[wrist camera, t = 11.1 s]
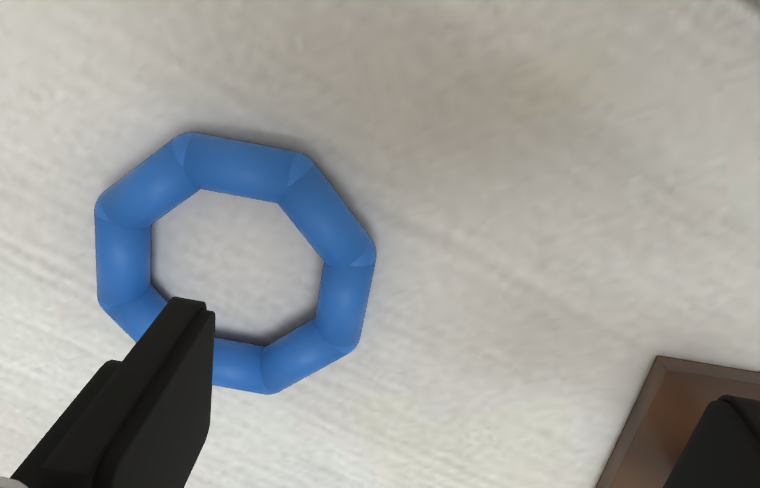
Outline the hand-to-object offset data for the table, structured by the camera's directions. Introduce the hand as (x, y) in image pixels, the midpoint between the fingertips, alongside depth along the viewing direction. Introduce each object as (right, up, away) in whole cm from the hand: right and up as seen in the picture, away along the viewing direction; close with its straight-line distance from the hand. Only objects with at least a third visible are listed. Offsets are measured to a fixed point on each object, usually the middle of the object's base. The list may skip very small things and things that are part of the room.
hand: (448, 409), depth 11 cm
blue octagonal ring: (-7, +2, +12) cm, 14 cm away
